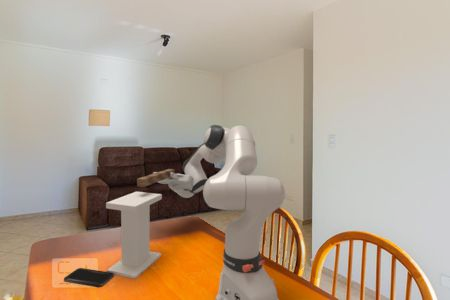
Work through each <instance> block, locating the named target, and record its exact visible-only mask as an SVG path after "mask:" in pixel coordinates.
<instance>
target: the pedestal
mask: <svg viewBox="0 0 450 300" xmlns="http://www.w3.org/2000/svg"><path fill="white" fill-rule="evenodd" d="M162 199H163V195H162V193H153V192H143V191H134V192H132V193H128V194H125V195H124V196H121V197H118V198H115V199H112V200H110V201H107V202H106V203H105V209H108V210H109V209H110V210H114V211H115V210H116V211H120V219H121V221H120V224H121V225H120V227H121V228H120V229H121V231H120V232H121V235H120V236H121V241H120V243H121V245H120V247H121V251H120V253H121V258H120V259H121V260H120V259H119V261H117V262H116V263H114V264H113V265H112V266H110V267H109V268H108V269H106V272H111V273H114V275H116V276H121V277H126V278H129V279H133V280H134V279H137V278H138V277H139V276H140V275H142V273H144V272H145V271H146V270H148V268H149V267H151V266H152V264H154V263H155V262H156V261H157V260H158V259H159V258H160V257H162V253H160V252H155V251H150V241H151V240H150V235H151V234H150V218H151V217H150V213H151V211H150V210H151V209H150V208H151V207H150V205H153V204H154V203H157V202H158V201H161V200H162Z"/></svg>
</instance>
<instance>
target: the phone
mask: <svg viewBox="0 0 450 300" xmlns="http://www.w3.org/2000/svg"><path fill="white" fill-rule="evenodd" d="M114 276H115V274H114V273H111V272H107V271H102V270H96V269H90V268H83V267H79V268H76V269H75V270H73V271H72V272H70V273H69V274H67V275H65V277H64V278H63V282H66V283H71V284H77V285H83V286H88V287H89V286H90V287H95V288H102V287H104V286H105V285H106V284H107V283H108V282H110V281H111V279H113V278H114Z"/></svg>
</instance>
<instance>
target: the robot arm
mask: <svg viewBox="0 0 450 300" xmlns="http://www.w3.org/2000/svg"><path fill="white" fill-rule="evenodd" d="M203 140H204V141H203V143H201V144H200V145H199V146H198V147H197V148H196V149H195V151H193V153H192V154H191V155H190V156H189V158H187V159H185V161H184V162H183V163H182V166H181V168H182V171H183V173H184V174H182V173H173V172H169V176H170V177H169V178H167V179H164V180H161V181H158V182H157V183H159V184H162V185H168V188H169V189H171V190H172V191H173V192H175V193H177V195H179V196H180V197H181V198H185V199H188V198H191V197H193V196H194V195H196V194H198V193H201V192H202V194H203V195H202V196H203V199H204V203H206V204H207V206H208V207H210V208H213V209H217V210H222V211H224V210H225V211H244V212H243V214H242V215H241V216H239V217H237V218H235V219H233V220H231V221H230V222H229V223H228V225H227V226H226V227H225V230H224V231H225V235H224V237H225V238H224V249H223V253H222V259H223V261H222V263H223V267H222V269H221V271H220V272H221V273H220V276H219V283H218V284H219V285H218V293H217V294H216V296H215V299H214V300H280V299H279V297H278V290H277V287H276V285H275V280H274V279H273V278H272V277H270V276H269V275H268V272H267V271H266V269H265V268H264V264H266V263H265V259H262V254H261V252H260V243H261V241H260V240H261V233H262V229H263V227H264V224H265V222H266V221H267V219H268V217H270V215H271V214H272V213H274V212H275V211H276V210H278V209H279V208H280V207H281V206H282V205H283V203H284V201H285V196H286V192H285V191H286V190H285V187H284V185H283V182H281V180H280V179H279V178H277V177H272V176H267V175H251V174H252V173H253V172H254V171H255V169H257V166H258V158H257V151H256V149H257V148H256V142H255V140H254V137H253V135H252V132H251V131H250V129H249V128H248V127H246V126H245V125H235V126H233V127H231V128H228V127H225V126H222V125H219V124H218V125H217V124H212V125H210V126H209V127H208V128H207V129H206V131H205V133H204V138H203ZM203 159H204V160H205V161H206V162H208V163H210V164H220V163H222V162H223V161H224V160H225V162H224V166H223V167H222V168H221V169H220V170H219V171H218V172H217V173H216V174H213V175H212V176H210V177H209V178H208V177H207V175H206V173H205V171H204V169H203V166H202V164H201V161H202V160H203ZM154 173H157V171H153V172H152V174H154Z"/></svg>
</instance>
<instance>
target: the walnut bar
mask: <svg viewBox="0 0 450 300" xmlns="http://www.w3.org/2000/svg"><path fill="white" fill-rule="evenodd" d="M175 170H176V169H175V168H174V169H173V168H168V169H164V170H161V171H158V172H157V171H156V172H157V173H154V172H153V173H154V174H153V173H151V174H149V175H145V176H141V177H138V178H137V179H136V186H137V187H141V188H145V187H148V186H150V185H153V184H156V183H158V181H161V180H164V179H167V178H169V177H170V176H169V172H173V173H175V172H176V171H175ZM175 174H176V173H175Z"/></svg>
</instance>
